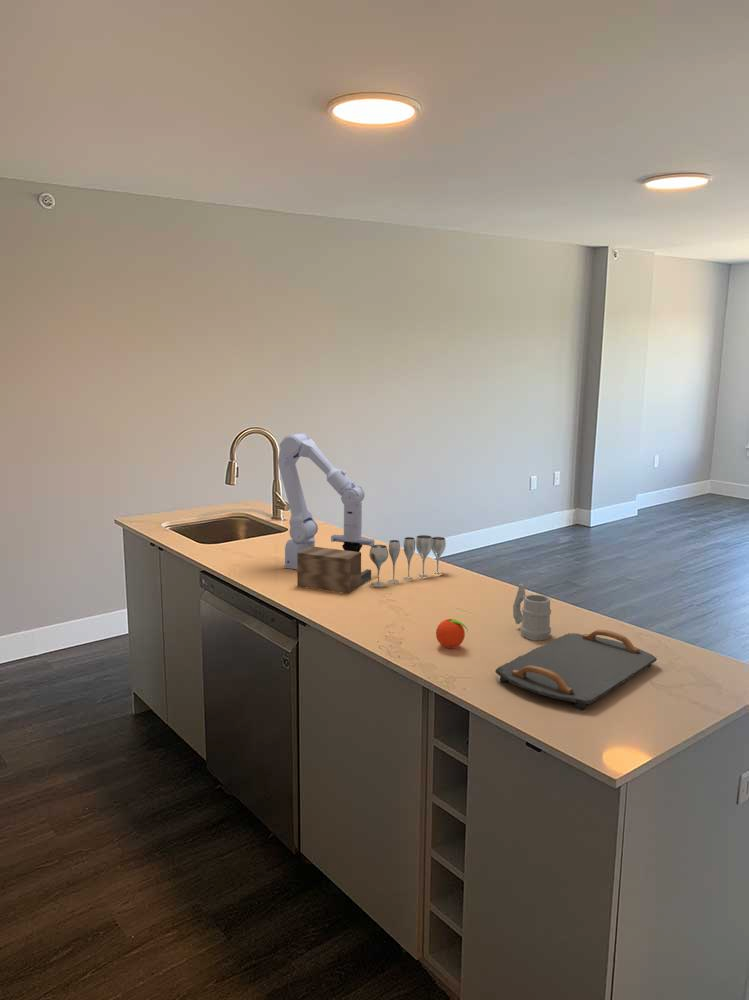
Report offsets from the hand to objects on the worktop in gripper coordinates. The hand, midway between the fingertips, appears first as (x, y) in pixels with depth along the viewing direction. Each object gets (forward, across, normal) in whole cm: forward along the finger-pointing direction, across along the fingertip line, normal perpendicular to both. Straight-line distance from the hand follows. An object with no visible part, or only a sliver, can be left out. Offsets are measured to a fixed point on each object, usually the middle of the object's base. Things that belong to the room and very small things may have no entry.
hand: (352, 565), depth 248 cm
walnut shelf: (+2, 0, +12) cm, 12 cm away
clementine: (+3, -50, +49) cm, 69 cm away
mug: (+3, -64, +30) cm, 71 cm away
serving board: (+3, -80, +51) cm, 95 cm away
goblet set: (+3, -19, -1) cm, 19 cm away
